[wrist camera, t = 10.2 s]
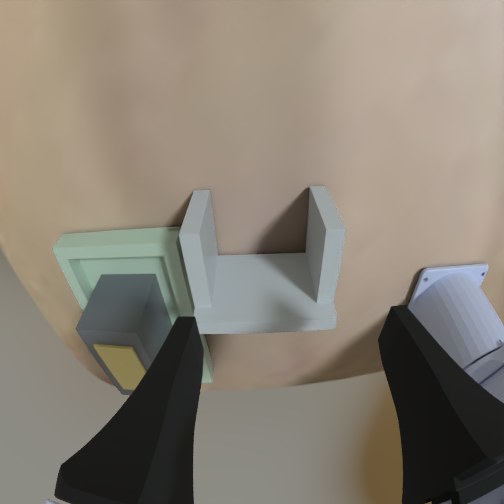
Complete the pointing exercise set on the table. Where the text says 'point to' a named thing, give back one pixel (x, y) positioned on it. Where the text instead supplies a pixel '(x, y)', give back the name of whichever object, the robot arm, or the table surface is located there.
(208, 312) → the bay
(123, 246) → the tray
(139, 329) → the grey block yellow label
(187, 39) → the table surface
